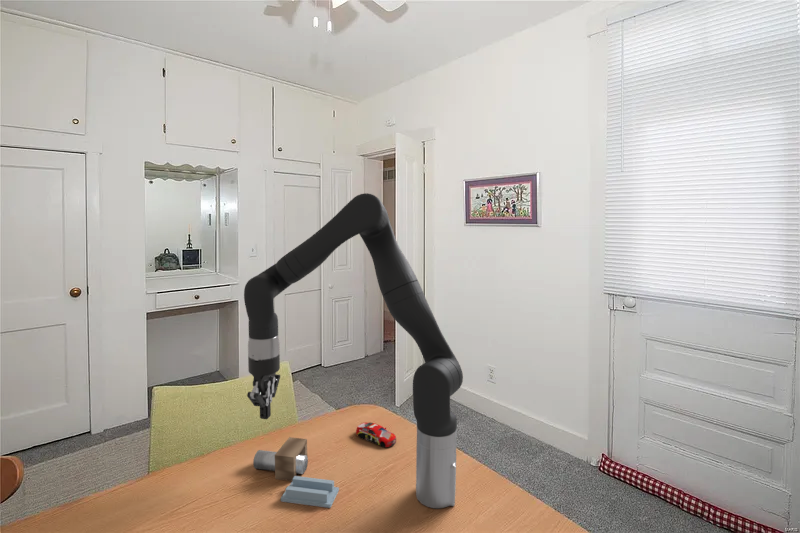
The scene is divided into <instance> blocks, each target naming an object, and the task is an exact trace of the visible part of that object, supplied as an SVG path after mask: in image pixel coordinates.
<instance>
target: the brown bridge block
mask: <svg viewBox="0 0 800 533" xmlns="http://www.w3.org/2000/svg"><path fill="white" fill-rule="evenodd" d="M276 452H277V453H276V454H275V471H274V472H275V474H274V475H275V476H274V477H275V478H274V479H275V480H279V481H280V480H282V481H290V482H293V477H294V476H297V474H296V458H297V456H298V455H307V456H308V439H307V438H299V437H291V436H289V437H288V438H287V439H286V440H285V442H284V443H283V444H282V446H281V447H279V449H278V451H276Z"/></svg>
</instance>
